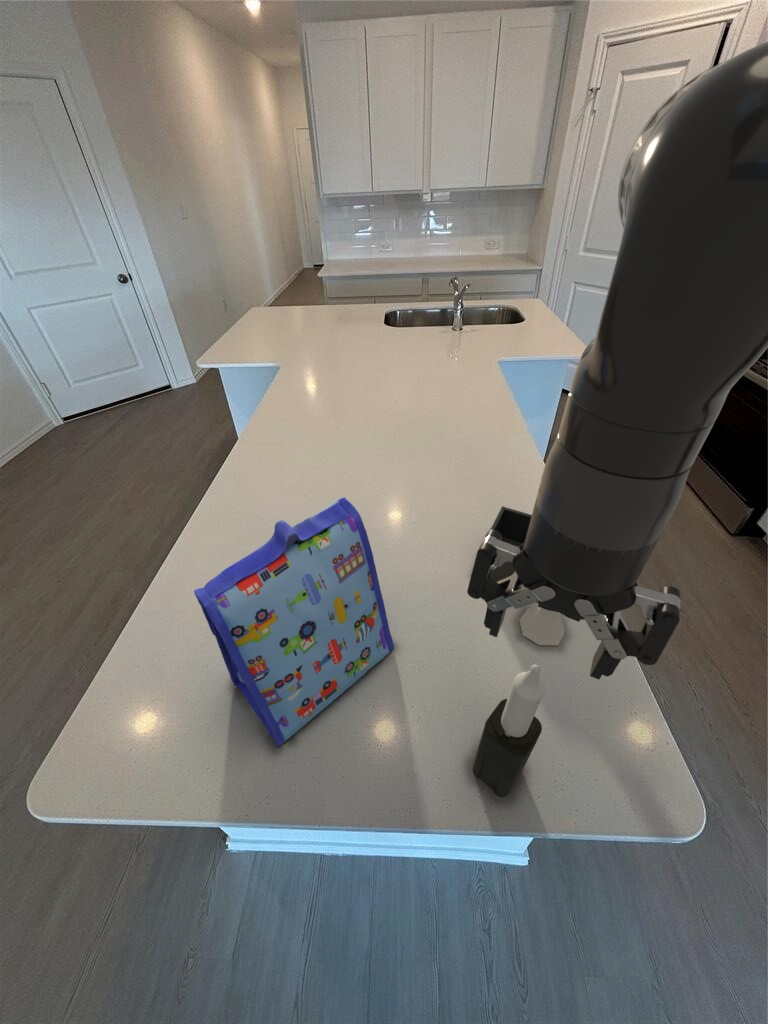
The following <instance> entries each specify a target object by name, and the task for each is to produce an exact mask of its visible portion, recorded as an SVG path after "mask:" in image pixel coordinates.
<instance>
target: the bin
mask: <svg viewBox="0 0 768 1024" xmlns="http://www.w3.org/2000/svg"><path fill="white" fill-rule="evenodd" d="M531 517H532V514H530V513H526V512H523V511H520V510H516V509H513V508H509V507H506V506H503V505H502V506H501V508H500V509H499V512H498V513H497V516H496V518H495V519H494V521H493V523H492V525H491V527H490V529H489V530H496V531H498V532H500V534H501V535H502V539H501V541H503V542H506V543H509V544H511V545H514V546H517V547H519V546H521V545H522V544H524V543H525V540H526V536H527V532H528V528H529V524H530V521H531ZM514 572H515V570H514V568H513V565H512V562H505V563H503V565H502V566H501V567H496V569H495V570H492V572H491V575H490V578H491V579H492V580H494V581H496V582H498V581H500V580H503V579H505V578H507V577H510V576H511V575H513V573H514Z"/></svg>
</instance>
